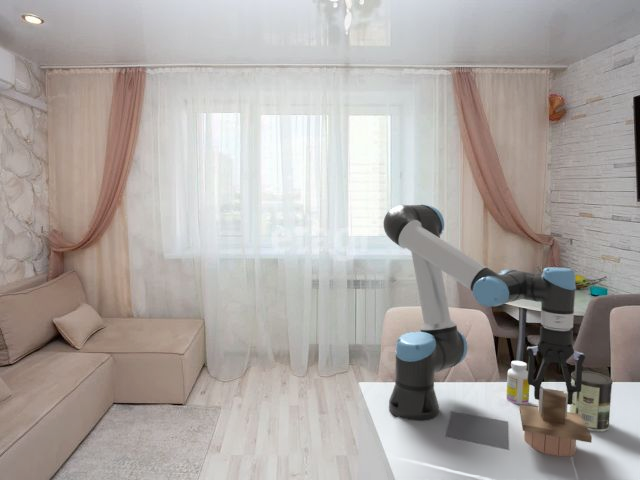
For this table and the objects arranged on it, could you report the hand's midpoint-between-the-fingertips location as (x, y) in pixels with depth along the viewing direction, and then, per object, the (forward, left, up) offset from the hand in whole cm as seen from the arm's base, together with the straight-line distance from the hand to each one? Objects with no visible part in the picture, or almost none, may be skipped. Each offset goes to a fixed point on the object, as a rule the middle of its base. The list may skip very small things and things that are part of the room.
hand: (552, 413), depth 117 cm
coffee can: (+12, +18, -9) cm, 24 cm away
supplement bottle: (-7, +25, -9) cm, 28 cm away
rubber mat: (-18, 0, -9) cm, 20 cm away
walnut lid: (0, -2, -2) cm, 3 cm away
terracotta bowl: (0, 0, -9) cm, 9 cm away
